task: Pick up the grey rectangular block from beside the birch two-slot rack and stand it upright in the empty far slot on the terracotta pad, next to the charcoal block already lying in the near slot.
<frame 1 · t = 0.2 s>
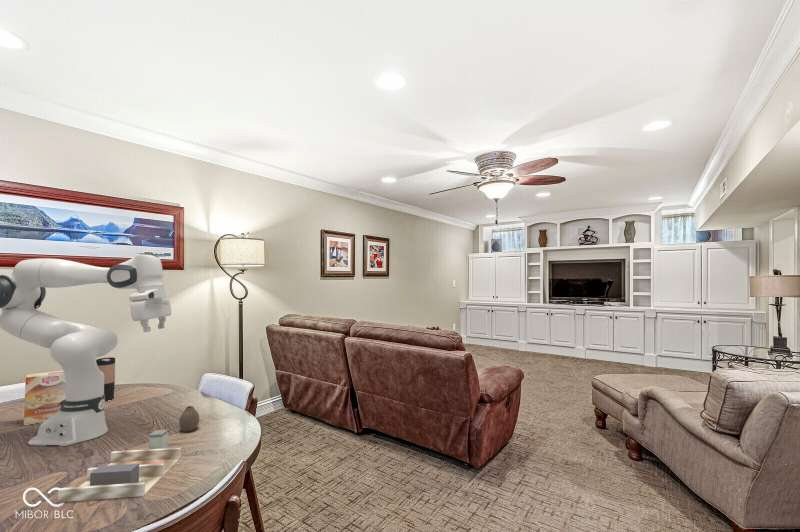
hand: (154, 330, 144), 39 cm above the table, tool pointing down, fingers open, 8 cm apart
coffeecake box: (49, 420, 156), on the table
grey rectangular block: (158, 450, 127), on the table
slot rack: (126, 480, 107), on the table
vase: (189, 430, 144), on the table
charcoal block: (114, 487, 102), point 1 cm above the table, touching slot rack
travel mug: (104, 400, 181), on the table
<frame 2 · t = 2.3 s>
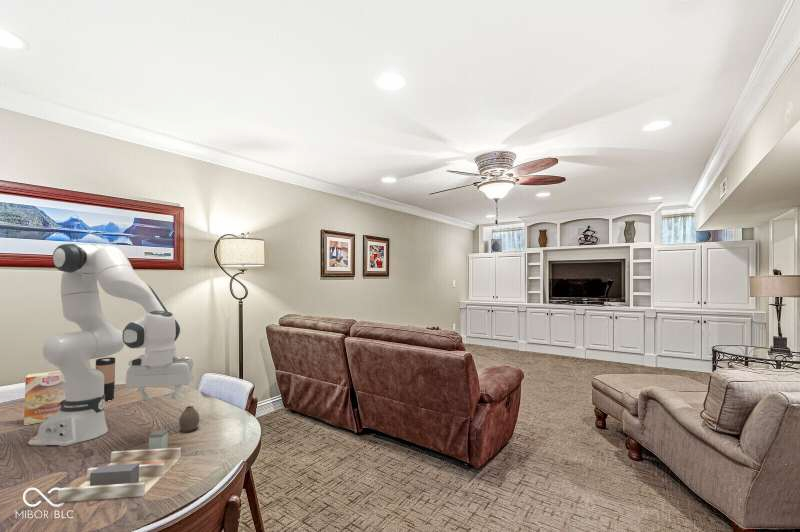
hand: (160, 399, 127), 17 cm above the table, tool pointing down, fingers open, 8 cm apart
nothing on the table moved.
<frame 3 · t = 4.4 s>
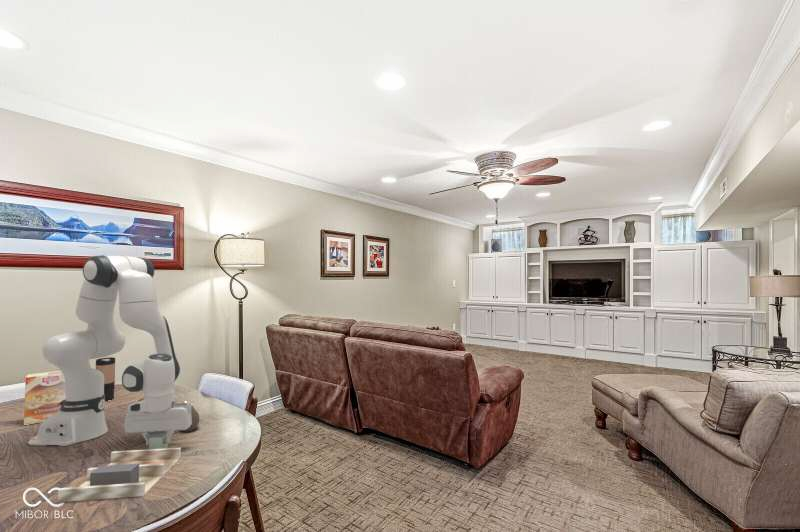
hand: (158, 443, 127), 2 cm above the table, tool pointing down, fingers closed on grey rectangular block, 4 cm apart
grey rectangular block: (158, 450, 127), on the table, touching gripper
everything else where it was.
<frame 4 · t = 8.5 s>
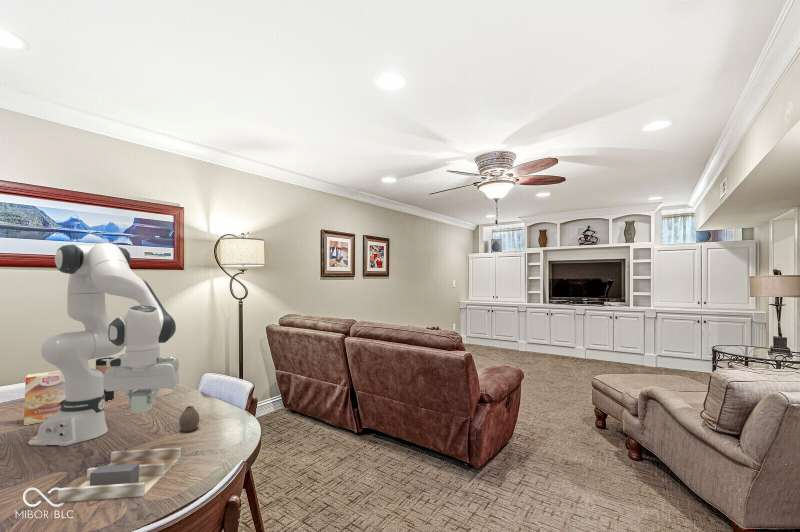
hand: (141, 403, 115), 20 cm above the table, tool pointing down, fingers closed on grey rectangular block, 4 cm apart
grey rectangular block: (141, 410, 115), point 18 cm above the table, touching gripper
everything else where it was.
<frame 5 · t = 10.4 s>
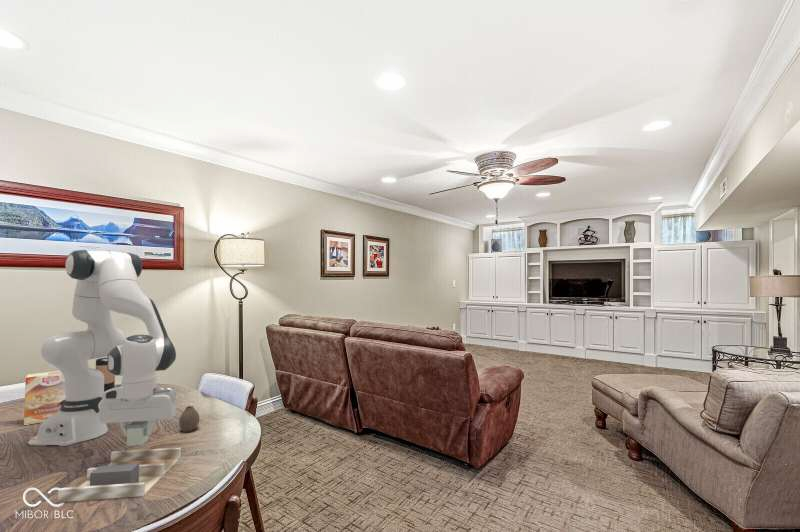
hand: (138, 435, 113), 11 cm above the table, tool pointing down, fingers closed on grey rectangular block, 4 cm apart
grey rectangular block: (137, 442, 113), point 9 cm above the table, touching gripper
everything else where it was.
when the fingers open (5 cm above the table, at t = 12.3 s): grey rectangular block drops 1 cm, resting on slot rack.
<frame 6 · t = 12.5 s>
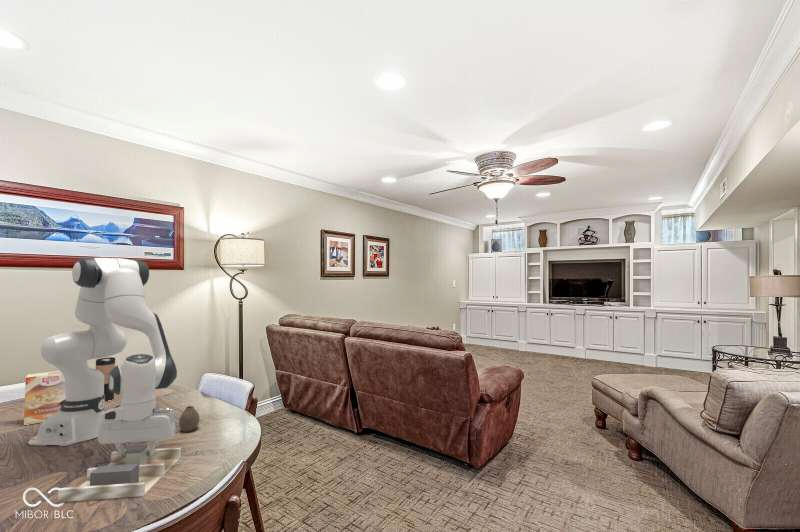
hand: (137, 455, 112), 5 cm above the table, tool pointing down, fingers open, 6 cm apart
grey rectangular block: (136, 467, 112), point 1 cm above the table, touching slot rack
everything else where it was.
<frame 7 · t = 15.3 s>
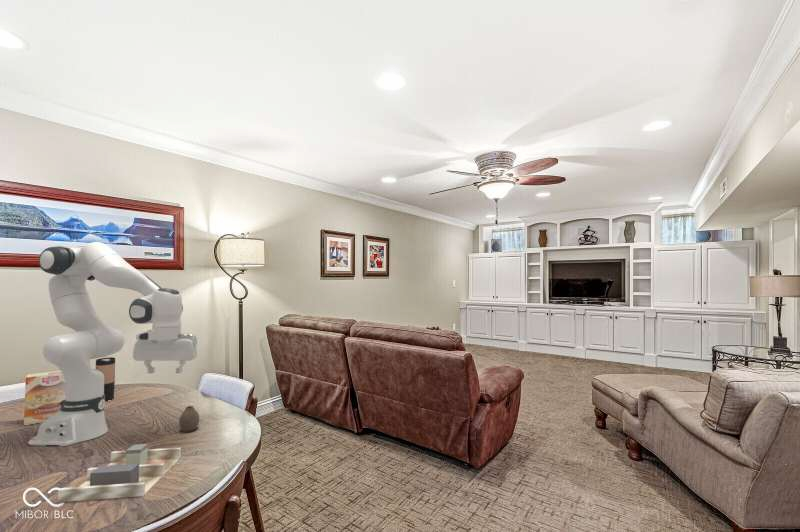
hand: (164, 372, 133), 25 cm above the table, tool pointing down, fingers open, 8 cm apart
nothing on the table moved.
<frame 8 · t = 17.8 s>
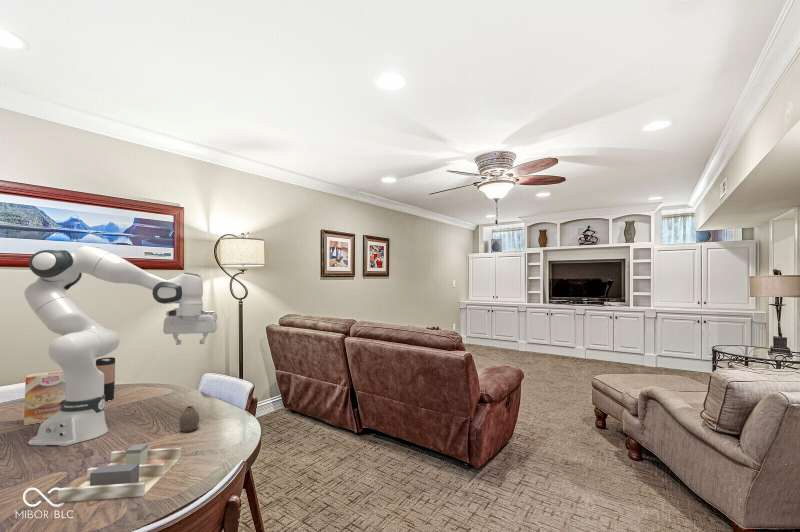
hand: (190, 344, 157), 31 cm above the table, tool pointing down, fingers open, 8 cm apart
nothing on the table moved.
at the end: grey rectangular block inside the target area on the slot rack (0.2 cm from its centre), point 1.2 cm above the slot rack's base; grey rectangular block tilted 0°; charcoal block moved 0.0 cm from its start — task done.
